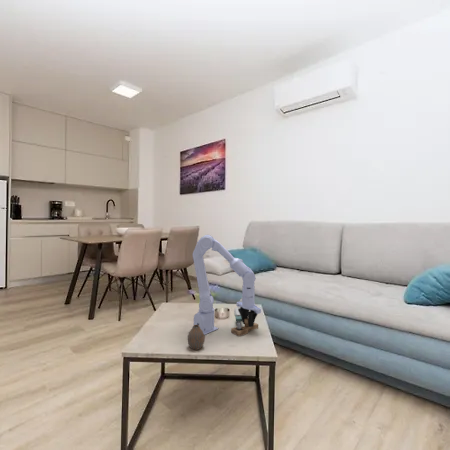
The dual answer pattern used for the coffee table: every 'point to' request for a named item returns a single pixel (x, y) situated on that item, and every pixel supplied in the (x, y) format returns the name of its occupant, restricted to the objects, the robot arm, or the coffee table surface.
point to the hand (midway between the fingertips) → (248, 324)
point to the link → (244, 328)
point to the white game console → (237, 309)
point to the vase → (196, 337)
